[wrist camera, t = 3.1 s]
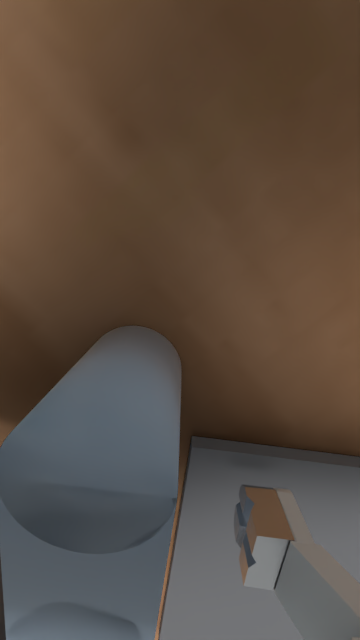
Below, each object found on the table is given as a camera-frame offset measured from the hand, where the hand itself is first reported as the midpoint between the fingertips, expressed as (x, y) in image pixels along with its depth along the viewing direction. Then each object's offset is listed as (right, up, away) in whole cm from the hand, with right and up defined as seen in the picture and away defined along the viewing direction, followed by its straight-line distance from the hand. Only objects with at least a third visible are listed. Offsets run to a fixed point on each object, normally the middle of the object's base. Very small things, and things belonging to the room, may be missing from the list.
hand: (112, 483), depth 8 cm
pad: (+6, -6, +4) cm, 9 cm away
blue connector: (0, 0, +2) cm, 2 cm away
